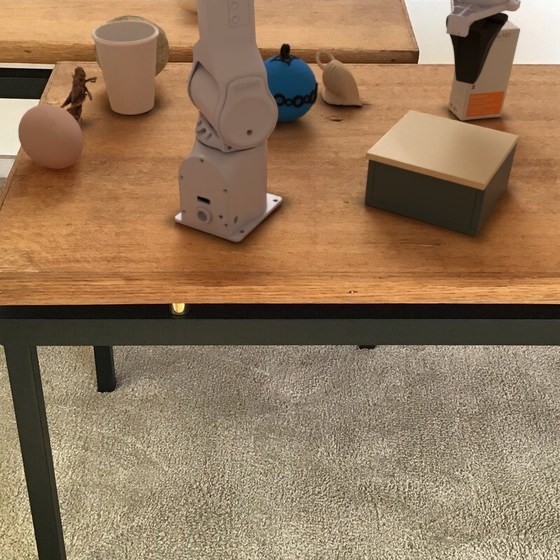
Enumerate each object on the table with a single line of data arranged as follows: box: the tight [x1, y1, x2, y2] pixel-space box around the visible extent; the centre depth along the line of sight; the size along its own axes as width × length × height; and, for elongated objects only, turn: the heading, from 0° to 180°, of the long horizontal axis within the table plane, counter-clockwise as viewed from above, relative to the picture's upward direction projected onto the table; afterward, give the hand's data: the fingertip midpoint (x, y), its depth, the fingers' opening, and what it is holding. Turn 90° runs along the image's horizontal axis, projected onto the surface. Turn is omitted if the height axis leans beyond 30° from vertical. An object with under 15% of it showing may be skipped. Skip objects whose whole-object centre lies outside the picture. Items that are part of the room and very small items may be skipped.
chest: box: [364, 142, 518, 238], centre depth 84 cm, size 12×13×6 cm
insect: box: [59, 64, 98, 126], centre depth 97 cm, size 4×8×5 cm
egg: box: [17, 103, 84, 170], centre depth 88 cm, size 7×7×10 cm
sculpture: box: [93, 14, 170, 78], centre depth 105 cm, size 10×4×10 cm, turn 95°
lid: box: [365, 109, 520, 190], centre depth 82 cm, size 12×13×1 cm
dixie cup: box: [90, 20, 159, 116], centre depth 100 cm, size 8×8×10 cm
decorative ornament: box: [314, 49, 363, 107], centre depth 105 cm, size 4×8×5 cm, turn 23°
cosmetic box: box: [447, 20, 521, 122], centre depth 100 cm, size 6×4×12 cm
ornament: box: [263, 43, 319, 123], centre depth 98 cm, size 9×9×10 cm
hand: (466, 80), depth 86 cm, fingers closed
